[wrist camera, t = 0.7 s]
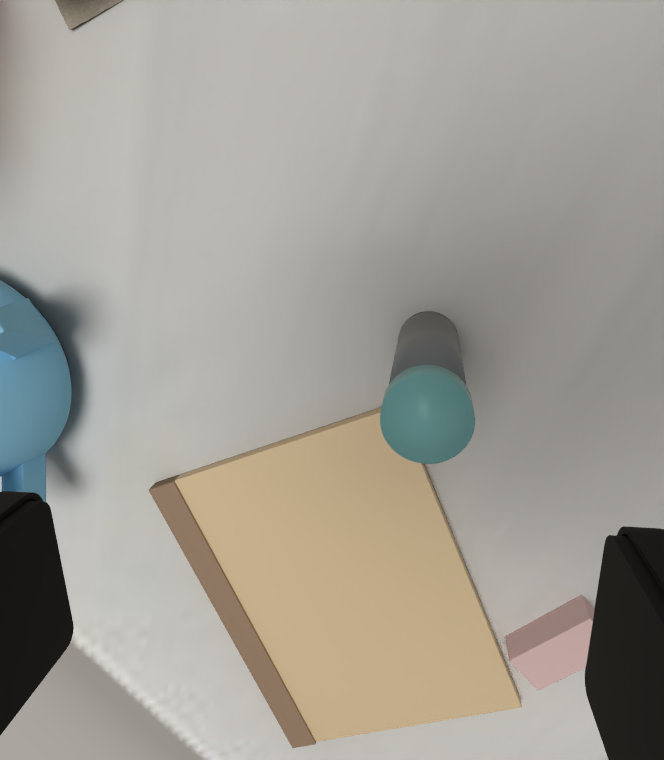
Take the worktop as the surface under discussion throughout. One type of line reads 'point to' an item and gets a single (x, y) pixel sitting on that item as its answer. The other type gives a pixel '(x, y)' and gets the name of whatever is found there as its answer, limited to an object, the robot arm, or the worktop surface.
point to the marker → (427, 393)
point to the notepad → (339, 583)
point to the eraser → (553, 643)
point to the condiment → (82, 10)
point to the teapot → (29, 393)
